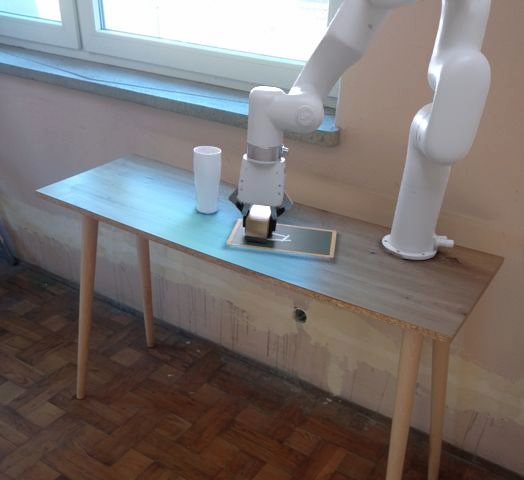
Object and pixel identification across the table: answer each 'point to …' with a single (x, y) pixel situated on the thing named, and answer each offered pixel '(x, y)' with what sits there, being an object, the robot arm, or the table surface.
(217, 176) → the drinking glass
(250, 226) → the eraser
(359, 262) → the table surface
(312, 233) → the slate
